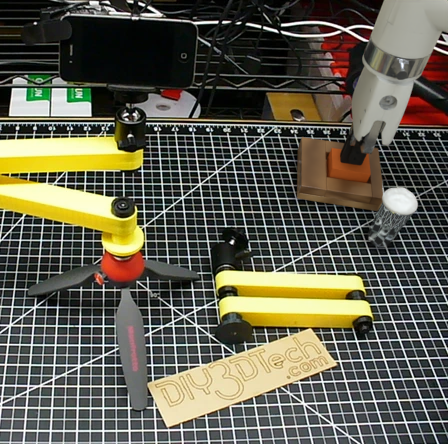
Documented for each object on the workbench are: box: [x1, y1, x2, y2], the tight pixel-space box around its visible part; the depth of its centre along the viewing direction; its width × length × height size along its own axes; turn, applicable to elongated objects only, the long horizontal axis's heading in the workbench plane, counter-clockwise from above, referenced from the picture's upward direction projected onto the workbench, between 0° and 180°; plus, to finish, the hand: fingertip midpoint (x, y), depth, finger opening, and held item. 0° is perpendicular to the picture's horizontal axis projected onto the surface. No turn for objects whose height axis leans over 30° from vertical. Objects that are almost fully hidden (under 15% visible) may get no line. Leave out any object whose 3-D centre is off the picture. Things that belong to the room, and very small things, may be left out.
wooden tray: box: [296, 136, 383, 212], centre depth 89 cm, size 12×11×3 cm
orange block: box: [326, 148, 371, 183], centre depth 88 cm, size 6×5×3 cm
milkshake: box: [367, 180, 419, 248], centre depth 79 cm, size 4×5×10 cm
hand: (350, 160), depth 87 cm, fingers closed
